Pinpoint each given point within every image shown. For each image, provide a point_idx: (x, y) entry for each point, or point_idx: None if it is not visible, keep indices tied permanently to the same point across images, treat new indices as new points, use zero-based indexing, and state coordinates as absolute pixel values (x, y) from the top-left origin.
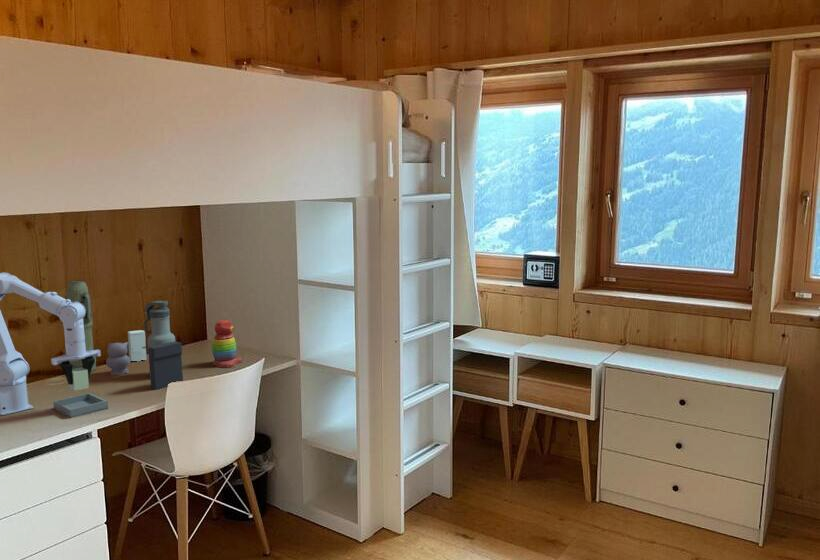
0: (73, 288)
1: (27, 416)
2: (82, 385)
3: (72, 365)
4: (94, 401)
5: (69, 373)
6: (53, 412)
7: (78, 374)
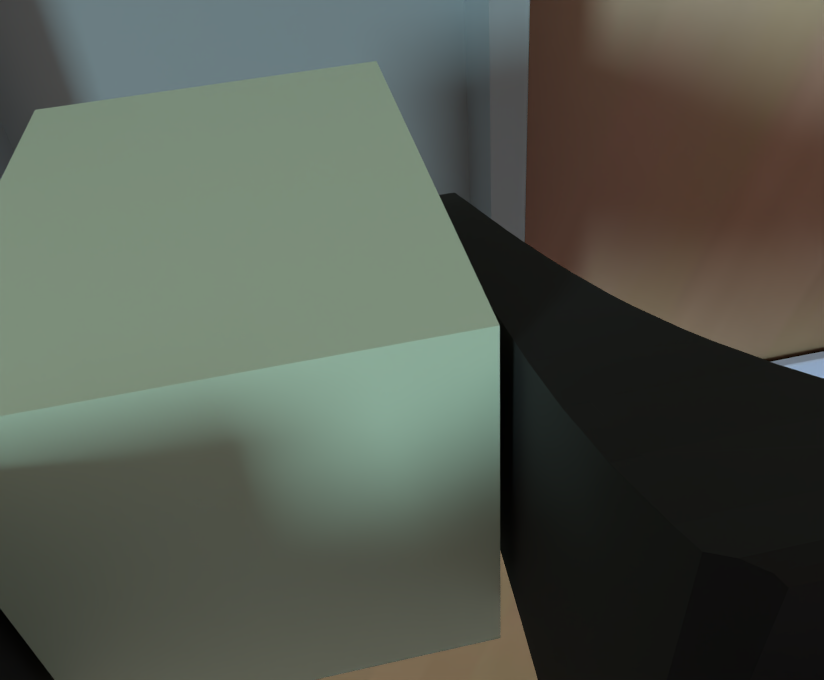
0: None
1: (782, 186)
2: (185, 122)
3: (706, 532)
4: None
5: (614, 326)
6: (552, 144)
7: (281, 291)
